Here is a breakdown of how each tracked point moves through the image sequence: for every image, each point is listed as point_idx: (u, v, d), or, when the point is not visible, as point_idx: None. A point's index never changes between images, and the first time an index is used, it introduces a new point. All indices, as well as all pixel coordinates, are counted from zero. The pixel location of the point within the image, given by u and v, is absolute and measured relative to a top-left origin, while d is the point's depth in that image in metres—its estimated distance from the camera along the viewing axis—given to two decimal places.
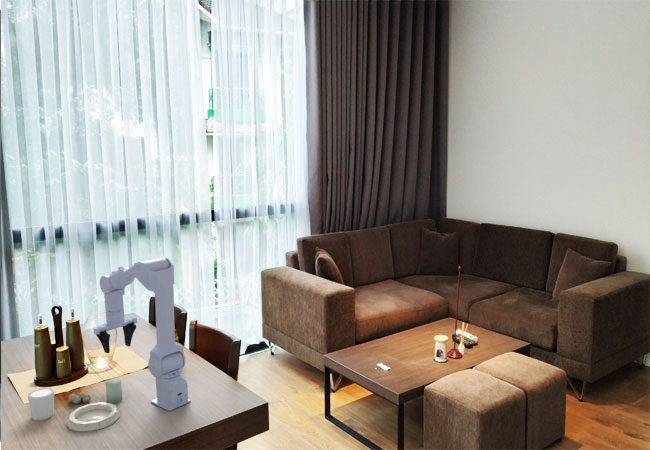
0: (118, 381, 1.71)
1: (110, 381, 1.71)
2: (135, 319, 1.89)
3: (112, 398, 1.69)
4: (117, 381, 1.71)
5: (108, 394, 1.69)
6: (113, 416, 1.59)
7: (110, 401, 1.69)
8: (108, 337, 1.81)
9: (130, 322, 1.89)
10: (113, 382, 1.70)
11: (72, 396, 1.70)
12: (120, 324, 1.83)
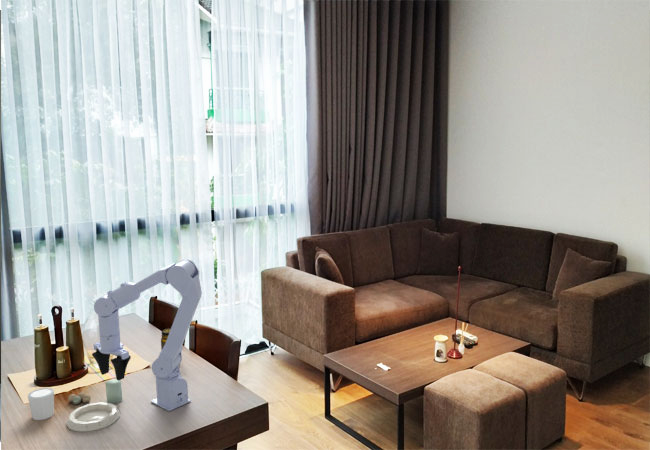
0: (118, 381, 1.71)
1: (110, 381, 1.71)
2: (121, 354, 1.64)
3: (112, 398, 1.69)
4: (117, 381, 1.71)
5: (108, 394, 1.69)
6: (113, 416, 1.59)
7: (110, 401, 1.69)
8: (96, 358, 1.70)
9: (121, 355, 1.66)
10: (113, 382, 1.70)
11: (72, 396, 1.70)
12: (102, 350, 1.66)
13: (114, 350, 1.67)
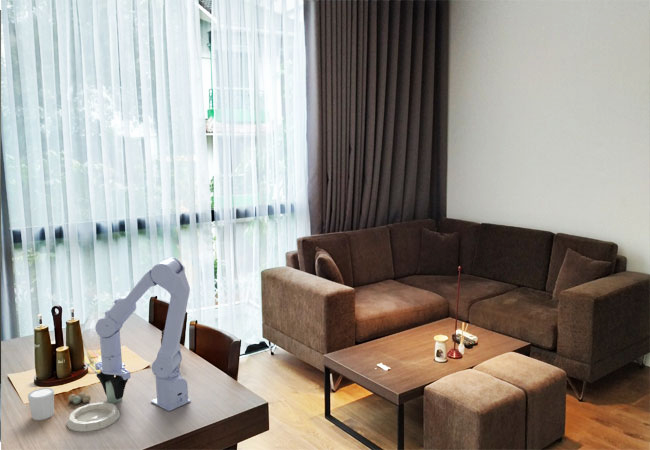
0: None
1: None
2: (123, 375, 1.65)
3: (112, 398, 1.69)
4: None
5: (108, 394, 1.69)
6: (113, 416, 1.59)
7: (110, 401, 1.69)
8: (100, 379, 1.70)
9: None
10: None
11: (72, 396, 1.70)
12: (103, 371, 1.67)
13: (116, 370, 1.68)
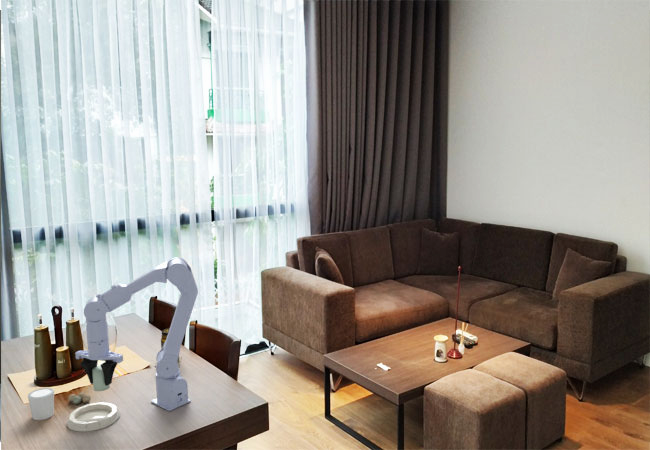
0: None
1: (96, 368, 1.63)
2: (117, 358, 1.60)
3: (101, 385, 1.62)
4: None
5: (96, 382, 1.62)
6: (113, 416, 1.59)
7: (99, 388, 1.62)
8: (86, 367, 1.62)
9: (114, 359, 1.61)
10: (101, 369, 1.63)
11: (72, 396, 1.70)
12: (92, 357, 1.60)
13: (105, 355, 1.61)
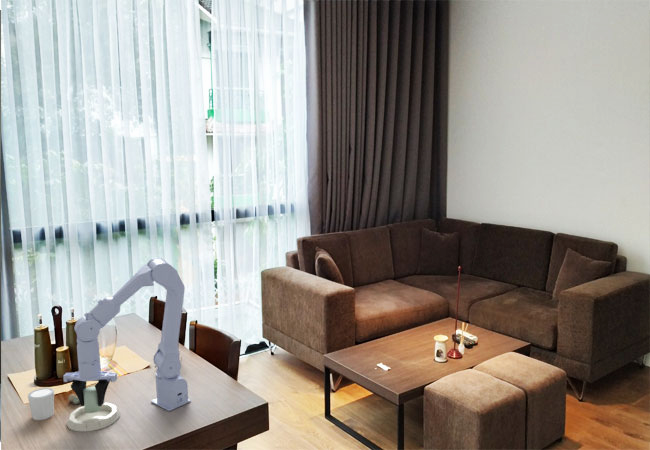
0: None
1: (87, 389, 1.59)
2: (112, 377, 1.57)
3: (94, 406, 1.58)
4: (95, 388, 1.60)
5: (89, 403, 1.57)
6: (113, 416, 1.59)
7: (92, 410, 1.58)
8: (77, 389, 1.56)
9: (108, 378, 1.58)
10: (92, 390, 1.59)
11: (72, 396, 1.70)
12: (85, 378, 1.55)
13: (99, 375, 1.57)
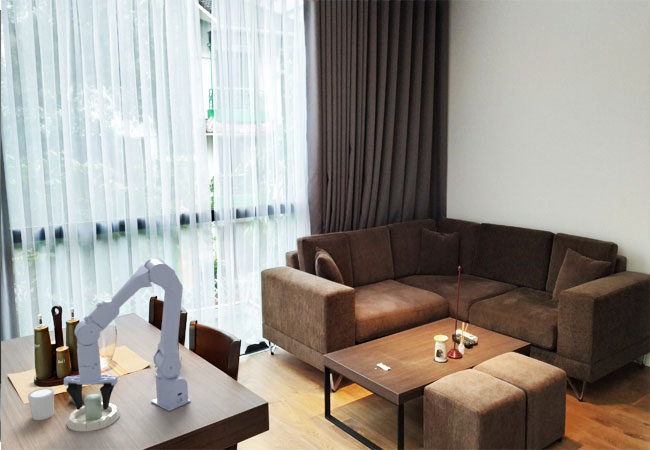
0: (97, 395, 1.60)
1: (88, 397, 1.59)
2: (112, 380, 1.57)
3: (95, 414, 1.58)
4: (96, 396, 1.60)
5: (90, 411, 1.57)
6: (113, 416, 1.59)
7: (93, 418, 1.58)
8: (72, 392, 1.56)
9: (108, 382, 1.58)
10: (93, 398, 1.59)
11: None
12: (85, 382, 1.55)
13: (99, 379, 1.57)
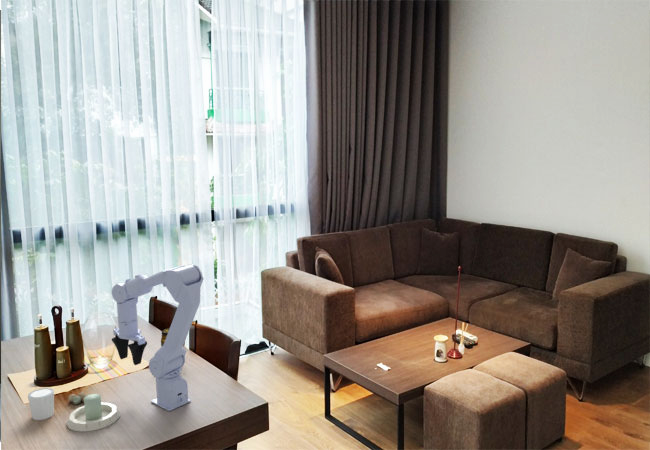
0: (97, 395, 1.60)
1: (88, 397, 1.59)
2: (138, 340, 1.70)
3: (95, 414, 1.58)
4: (96, 396, 1.60)
5: (90, 411, 1.57)
6: (113, 416, 1.59)
7: (93, 418, 1.58)
8: (115, 343, 1.76)
9: (137, 341, 1.72)
10: (93, 398, 1.59)
11: (72, 396, 1.70)
12: (120, 336, 1.73)
13: (131, 336, 1.73)
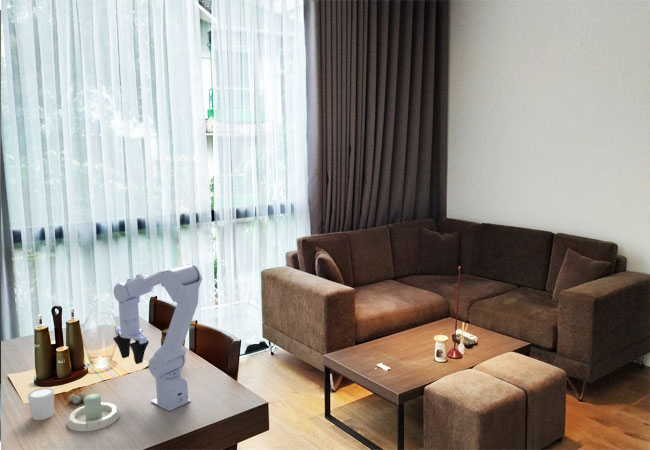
0: (97, 395, 1.60)
1: (88, 397, 1.59)
2: (139, 339, 1.71)
3: (95, 414, 1.58)
4: (96, 396, 1.60)
5: (90, 411, 1.57)
6: (113, 416, 1.59)
7: (93, 418, 1.58)
8: (117, 342, 1.77)
9: (139, 340, 1.73)
10: (93, 398, 1.59)
11: (72, 396, 1.70)
12: (121, 335, 1.74)
13: (133, 335, 1.74)
